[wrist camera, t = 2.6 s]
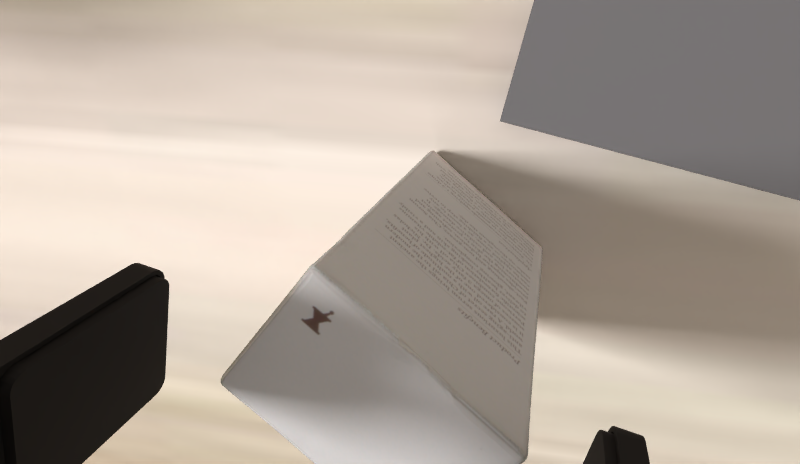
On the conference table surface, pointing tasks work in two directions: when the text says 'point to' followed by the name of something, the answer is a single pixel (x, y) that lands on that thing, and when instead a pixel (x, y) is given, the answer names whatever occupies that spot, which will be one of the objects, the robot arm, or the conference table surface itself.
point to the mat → (669, 83)
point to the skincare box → (405, 335)
